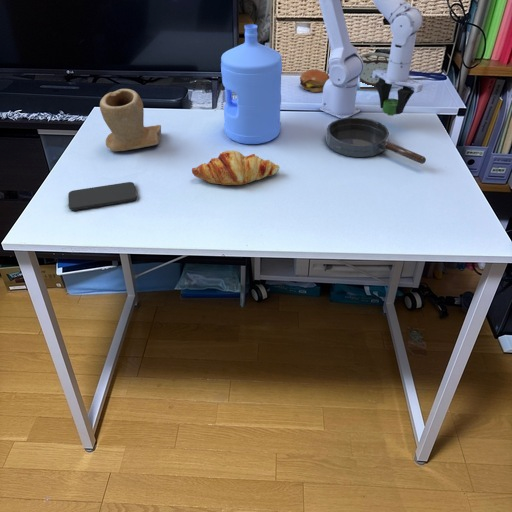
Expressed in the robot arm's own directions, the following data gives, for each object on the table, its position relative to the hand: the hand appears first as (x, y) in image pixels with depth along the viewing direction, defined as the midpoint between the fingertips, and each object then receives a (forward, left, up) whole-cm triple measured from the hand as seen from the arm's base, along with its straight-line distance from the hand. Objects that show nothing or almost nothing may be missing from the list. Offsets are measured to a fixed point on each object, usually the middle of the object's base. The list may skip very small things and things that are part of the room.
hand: (391, 109), depth 137 cm
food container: (-20, +19, -5) cm, 28 cm away
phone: (-24, -78, -5) cm, 81 cm away
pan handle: (+14, -14, -3) cm, 21 cm away
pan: (0, -15, -5) cm, 15 cm away
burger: (-33, +5, -5) cm, 34 cm away
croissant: (-9, -50, -5) cm, 51 cm away
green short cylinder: (0, 0, -1) cm, 1 cm away
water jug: (-24, -31, -5) cm, 39 cm away
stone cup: (-40, -59, -5) cm, 71 cm away
